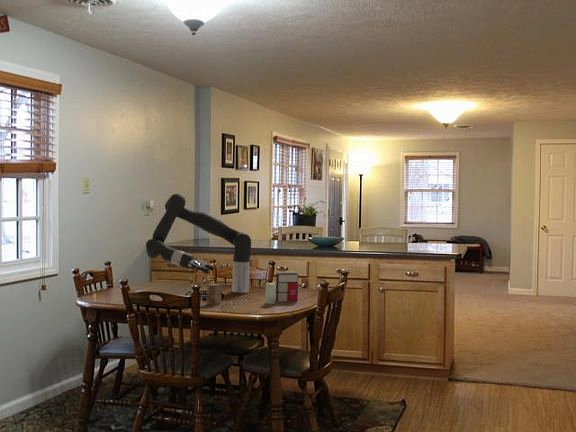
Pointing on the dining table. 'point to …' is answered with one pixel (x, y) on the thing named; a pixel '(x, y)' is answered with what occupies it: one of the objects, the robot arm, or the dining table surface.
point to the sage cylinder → (270, 293)
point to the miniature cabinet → (286, 287)
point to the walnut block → (214, 294)
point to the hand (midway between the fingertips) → (211, 270)
